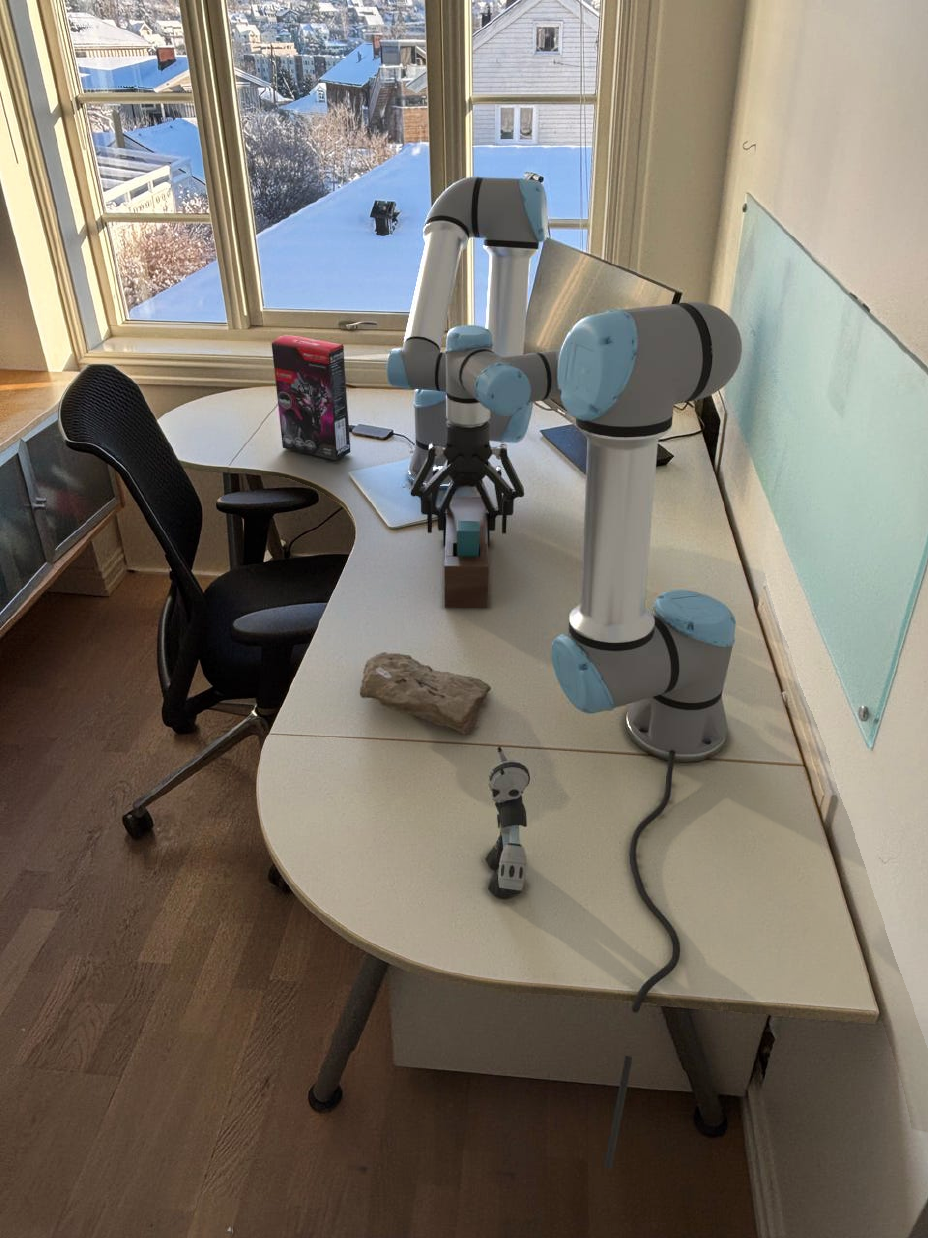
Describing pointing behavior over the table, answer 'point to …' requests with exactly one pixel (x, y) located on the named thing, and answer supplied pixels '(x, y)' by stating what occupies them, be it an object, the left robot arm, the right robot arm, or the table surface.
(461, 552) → the peg
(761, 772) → the table surface
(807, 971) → the table surface
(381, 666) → the stone
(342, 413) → the graphics card box
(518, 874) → the robot
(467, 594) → the hole block
